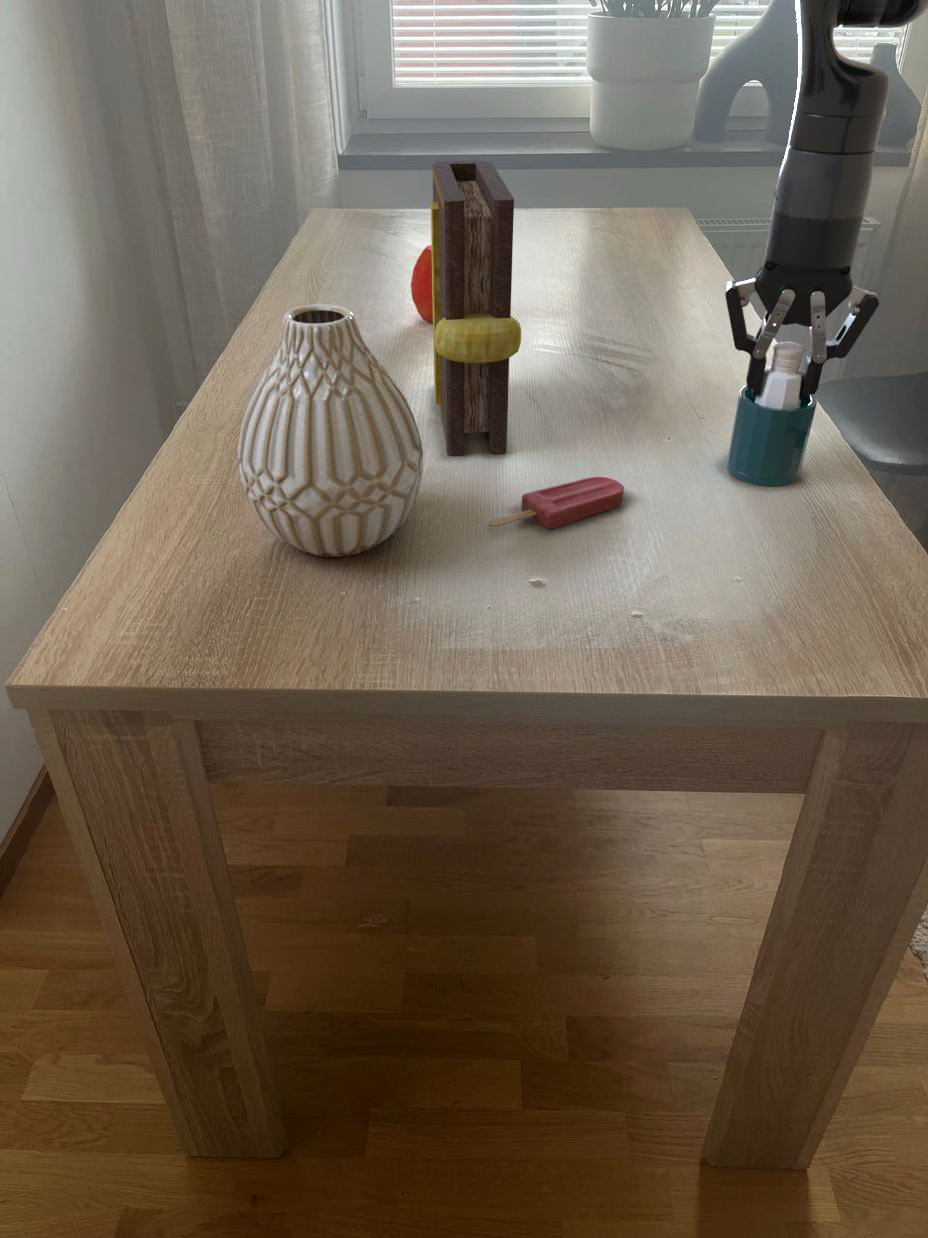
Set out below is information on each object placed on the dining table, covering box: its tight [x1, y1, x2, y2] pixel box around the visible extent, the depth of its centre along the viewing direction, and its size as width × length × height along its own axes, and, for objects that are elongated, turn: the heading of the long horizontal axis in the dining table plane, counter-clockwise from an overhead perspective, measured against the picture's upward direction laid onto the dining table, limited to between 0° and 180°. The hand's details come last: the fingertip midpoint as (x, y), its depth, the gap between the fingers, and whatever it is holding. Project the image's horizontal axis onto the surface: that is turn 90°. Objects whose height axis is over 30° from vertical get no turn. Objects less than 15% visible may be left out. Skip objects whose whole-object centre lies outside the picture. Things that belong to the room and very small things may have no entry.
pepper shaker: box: [755, 341, 805, 409], centre depth 90 cm, size 5×5×11 cm
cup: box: [726, 385, 818, 487], centre depth 92 cm, size 7×7×8 cm
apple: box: [410, 244, 433, 324], centre depth 130 cm, size 8×8×11 cm
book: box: [430, 159, 522, 457], centre depth 97 cm, size 22×8×25 cm, turn 5°
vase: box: [236, 303, 424, 558], centre depth 78 cm, size 16×16×20 cm
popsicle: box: [487, 476, 625, 530], centre depth 87 cm, size 4×2×15 cm
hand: (779, 393), depth 90 cm, fingers closed on pepper shaker, 4 cm apart
